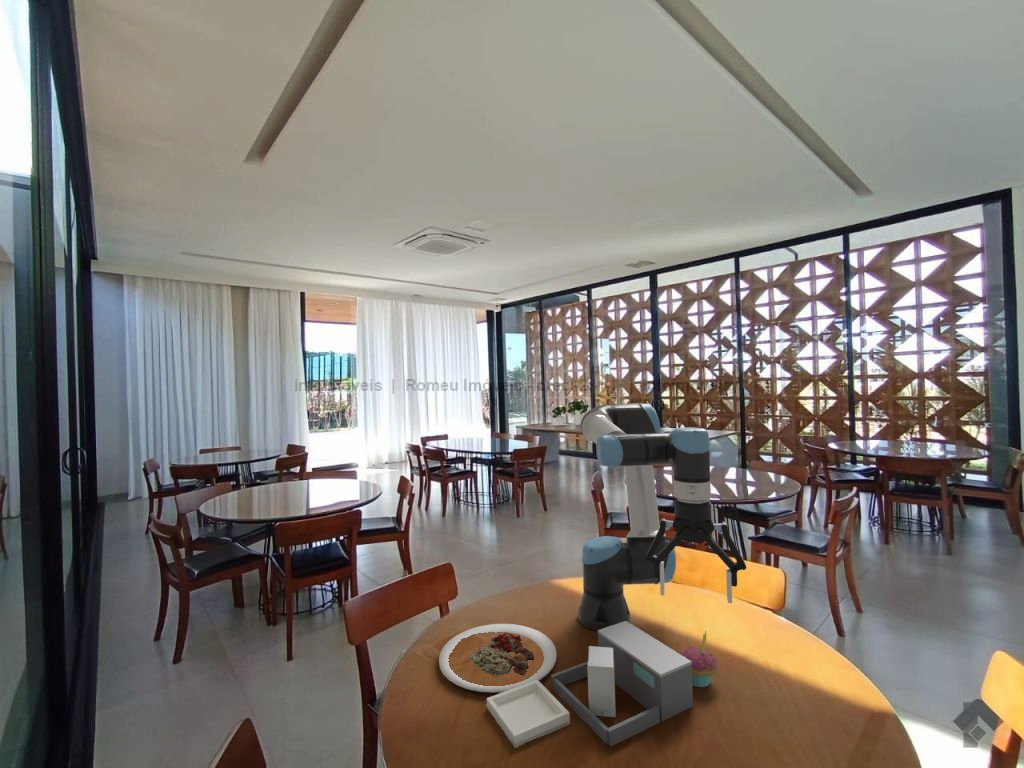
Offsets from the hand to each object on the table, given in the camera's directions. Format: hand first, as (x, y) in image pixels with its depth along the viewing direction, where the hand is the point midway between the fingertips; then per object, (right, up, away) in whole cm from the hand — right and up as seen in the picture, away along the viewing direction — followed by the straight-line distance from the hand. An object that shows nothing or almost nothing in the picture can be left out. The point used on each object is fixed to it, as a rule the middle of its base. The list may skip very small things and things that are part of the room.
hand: (695, 596), depth 103 cm
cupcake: (+3, -23, +7) cm, 24 cm away
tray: (-37, -24, -3) cm, 44 cm away
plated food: (-44, -25, +18) cm, 53 cm away
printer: (-16, -23, +2) cm, 28 cm away
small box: (-20, -24, 0) cm, 31 cm away
